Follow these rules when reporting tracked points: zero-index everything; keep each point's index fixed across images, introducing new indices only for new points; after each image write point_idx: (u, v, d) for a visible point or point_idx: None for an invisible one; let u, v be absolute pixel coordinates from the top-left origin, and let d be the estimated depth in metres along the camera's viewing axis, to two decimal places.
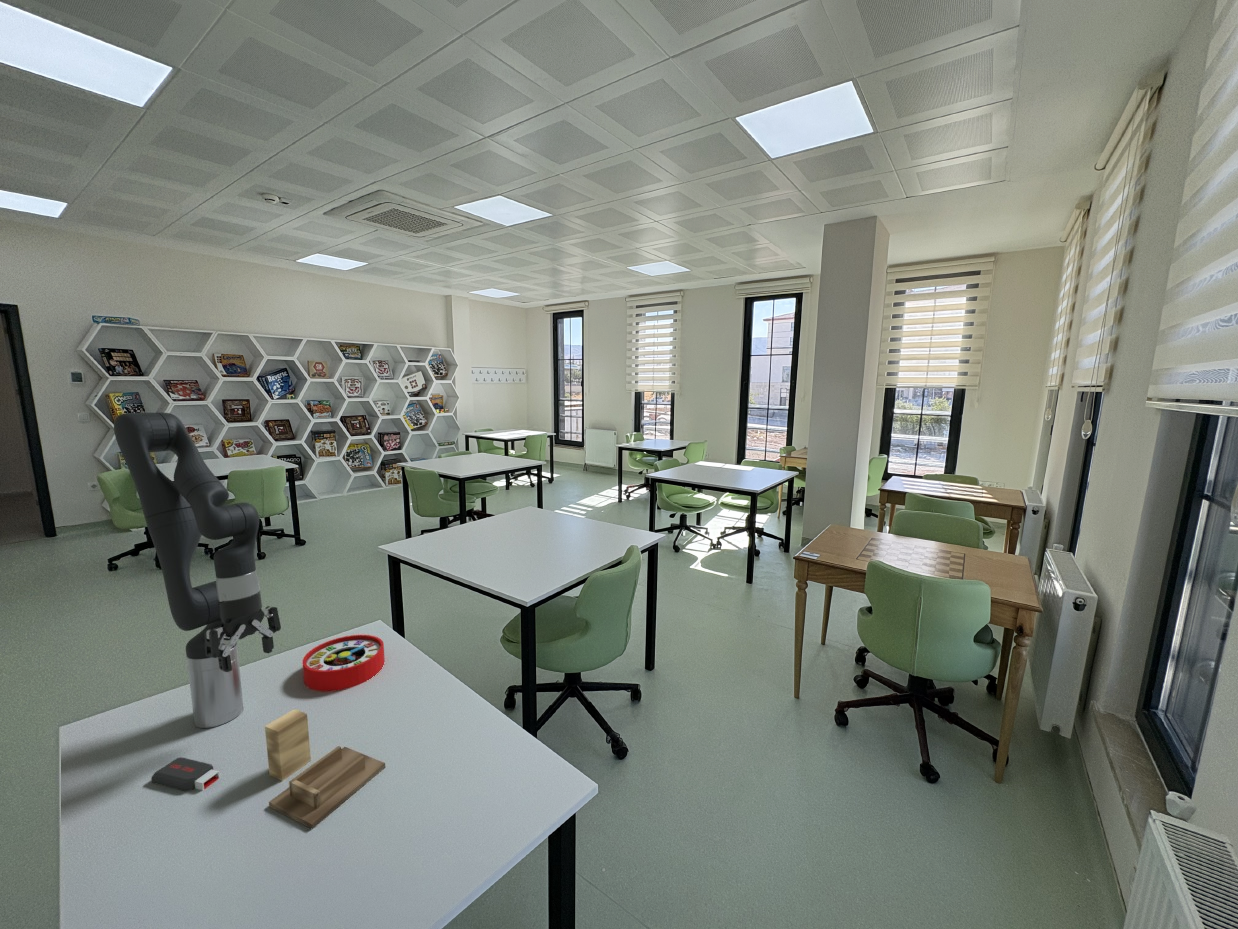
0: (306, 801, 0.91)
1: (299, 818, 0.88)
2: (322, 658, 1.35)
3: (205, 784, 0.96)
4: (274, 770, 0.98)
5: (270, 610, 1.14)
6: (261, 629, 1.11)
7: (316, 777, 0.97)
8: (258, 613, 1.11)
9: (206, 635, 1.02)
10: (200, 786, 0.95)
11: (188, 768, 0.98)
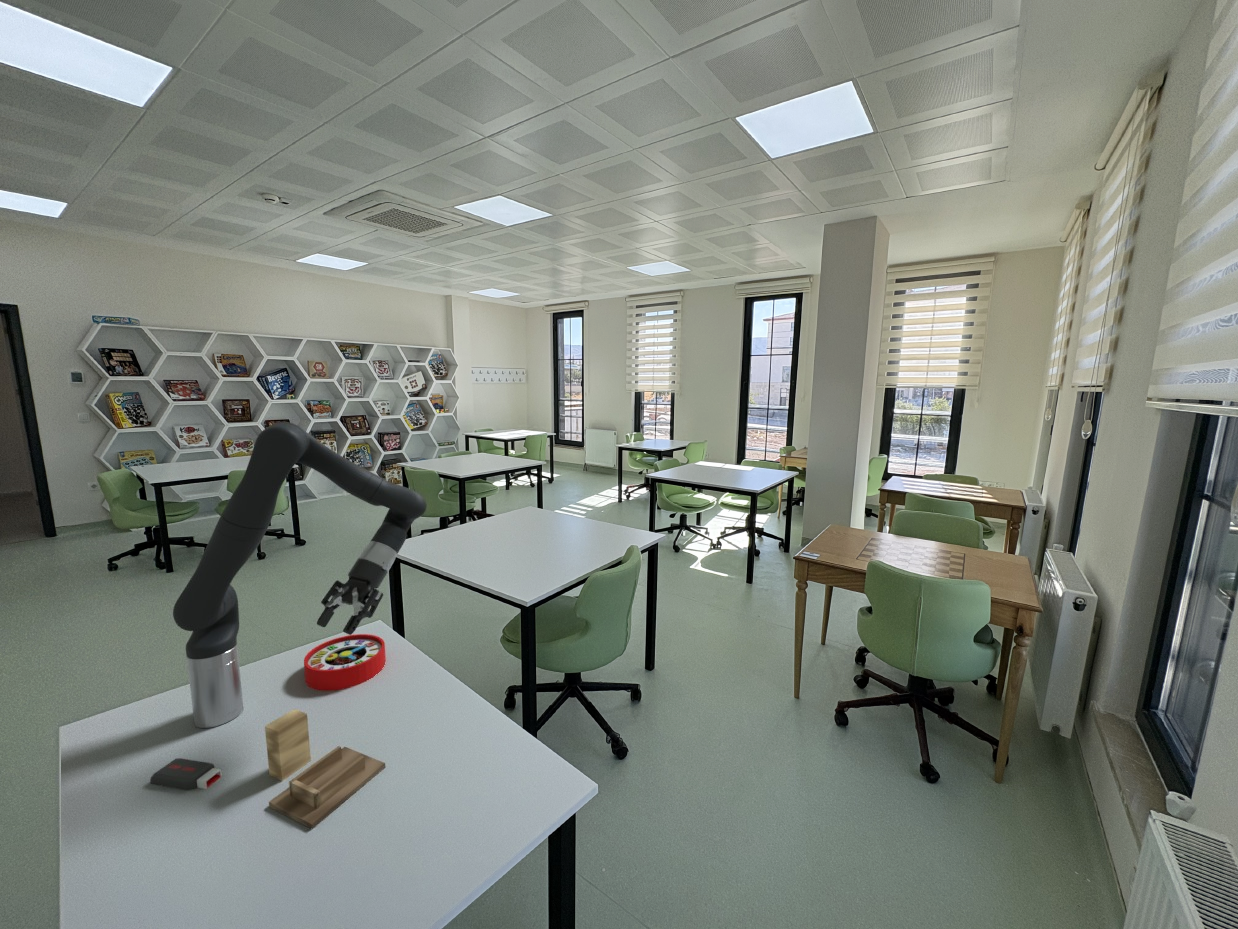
0: (306, 801, 0.91)
1: (299, 818, 0.88)
2: (323, 657, 1.35)
3: (207, 782, 0.97)
4: (274, 770, 0.98)
5: None
6: None
7: (316, 777, 0.97)
8: None
9: (377, 594, 1.10)
10: (203, 784, 0.96)
11: (188, 768, 0.98)
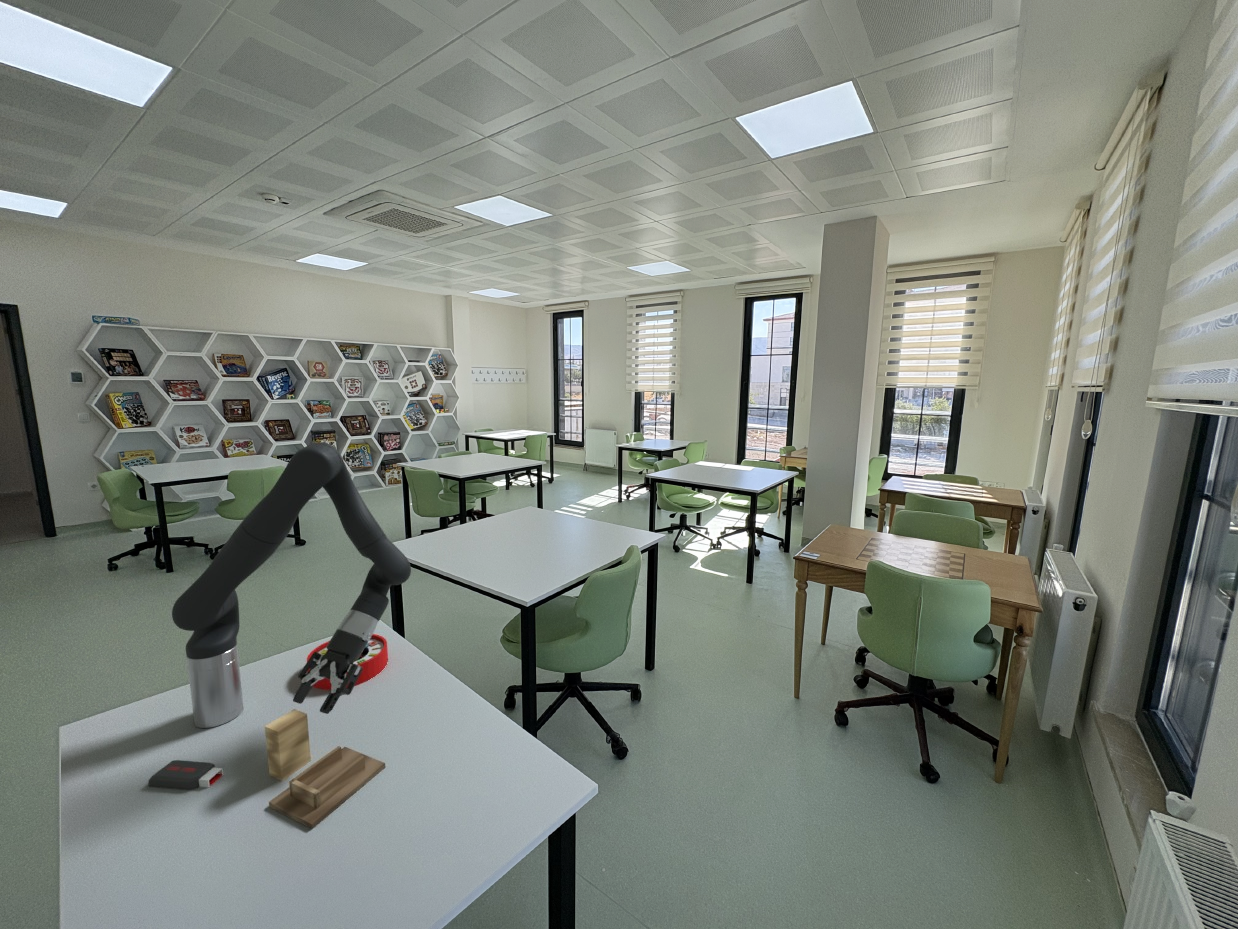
0: (306, 801, 0.91)
1: (299, 818, 0.88)
2: None
3: (209, 781, 0.97)
4: (274, 770, 0.98)
5: None
6: None
7: (316, 777, 0.97)
8: None
9: (356, 670, 1.07)
10: (205, 783, 0.96)
11: (188, 769, 0.98)
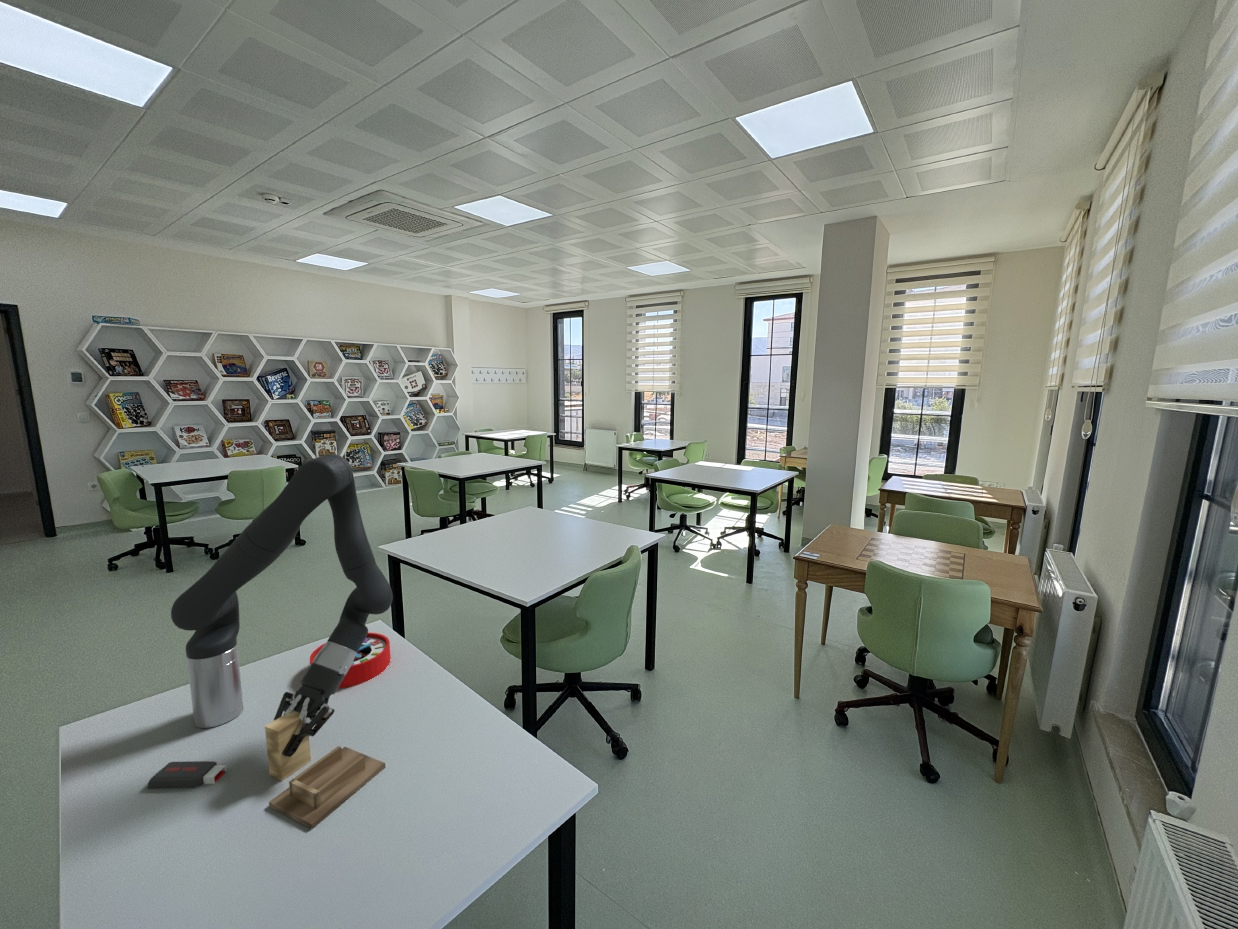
0: (306, 801, 0.91)
1: (299, 818, 0.88)
2: None
3: (214, 778, 0.98)
4: (274, 770, 0.98)
5: None
6: None
7: (316, 777, 0.97)
8: None
9: (325, 713, 1.01)
10: (210, 780, 0.97)
11: (189, 768, 0.98)
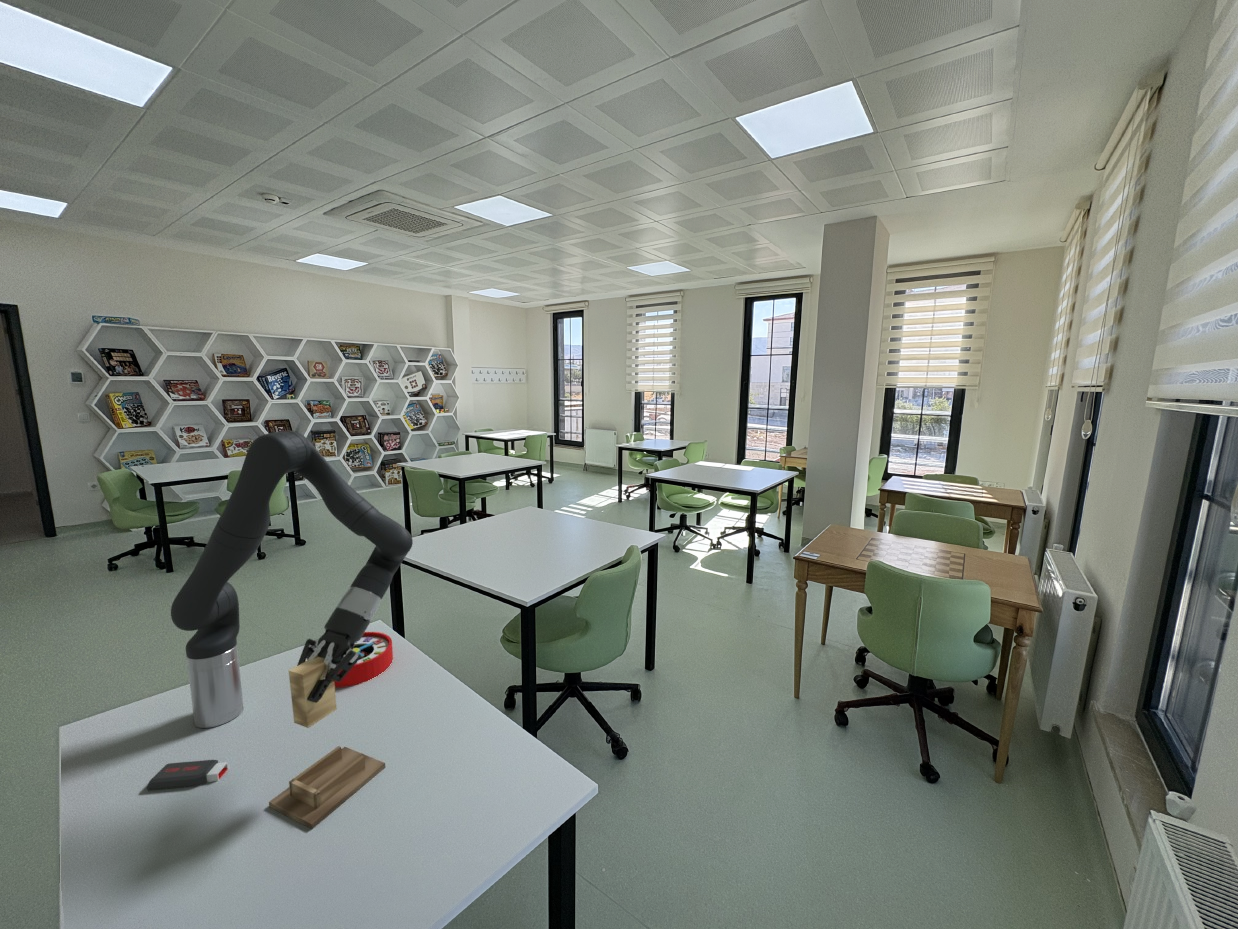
0: (306, 801, 0.91)
1: (299, 818, 0.88)
2: None
3: None
4: (299, 717, 0.93)
5: None
6: None
7: (316, 777, 0.97)
8: None
9: (352, 658, 0.95)
10: (214, 777, 0.97)
11: (190, 768, 0.98)
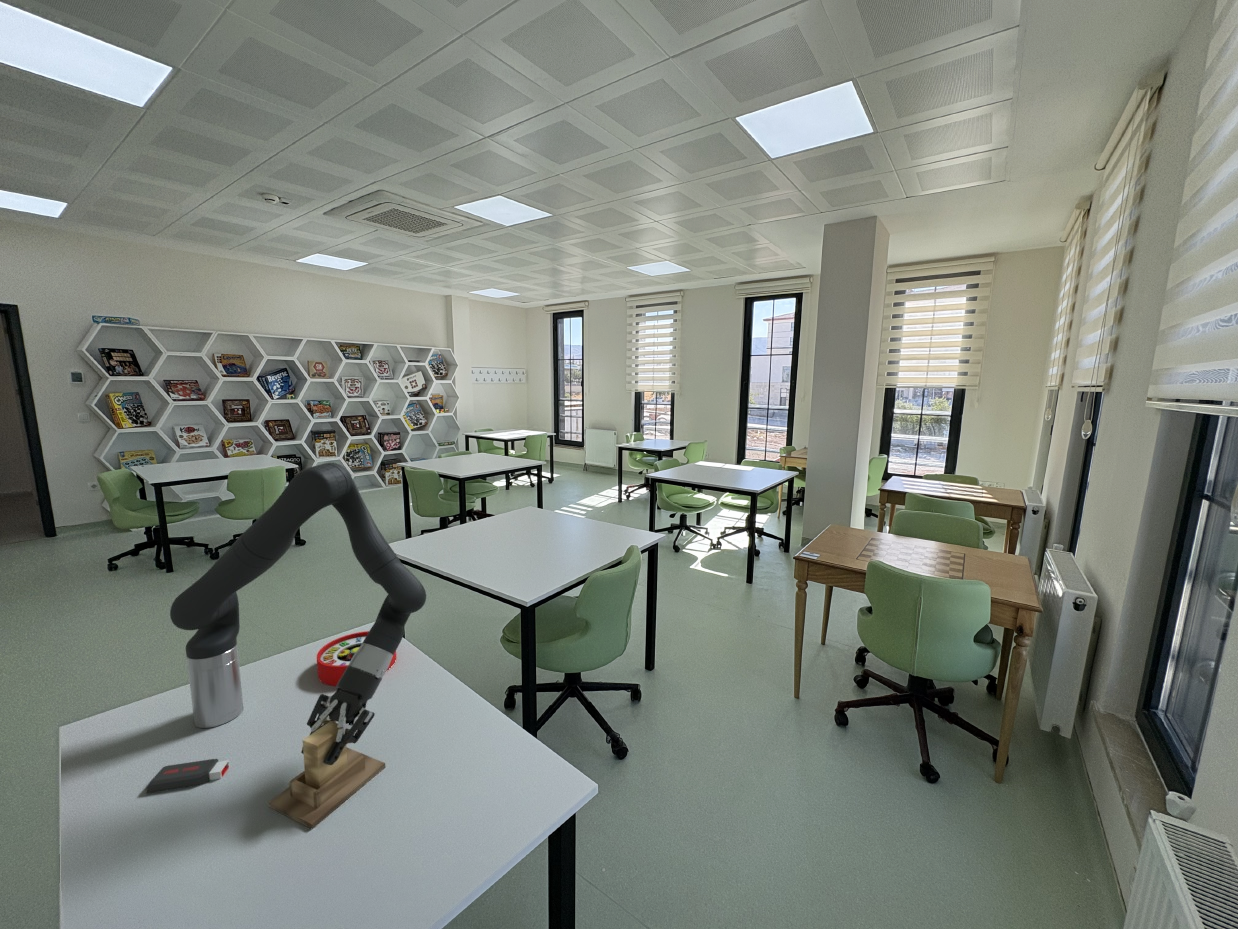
0: (306, 801, 0.91)
1: (299, 818, 0.88)
2: (335, 653, 1.38)
3: None
4: (312, 786, 0.93)
5: None
6: None
7: None
8: None
9: (366, 717, 0.96)
10: (217, 775, 0.98)
11: (190, 768, 0.98)
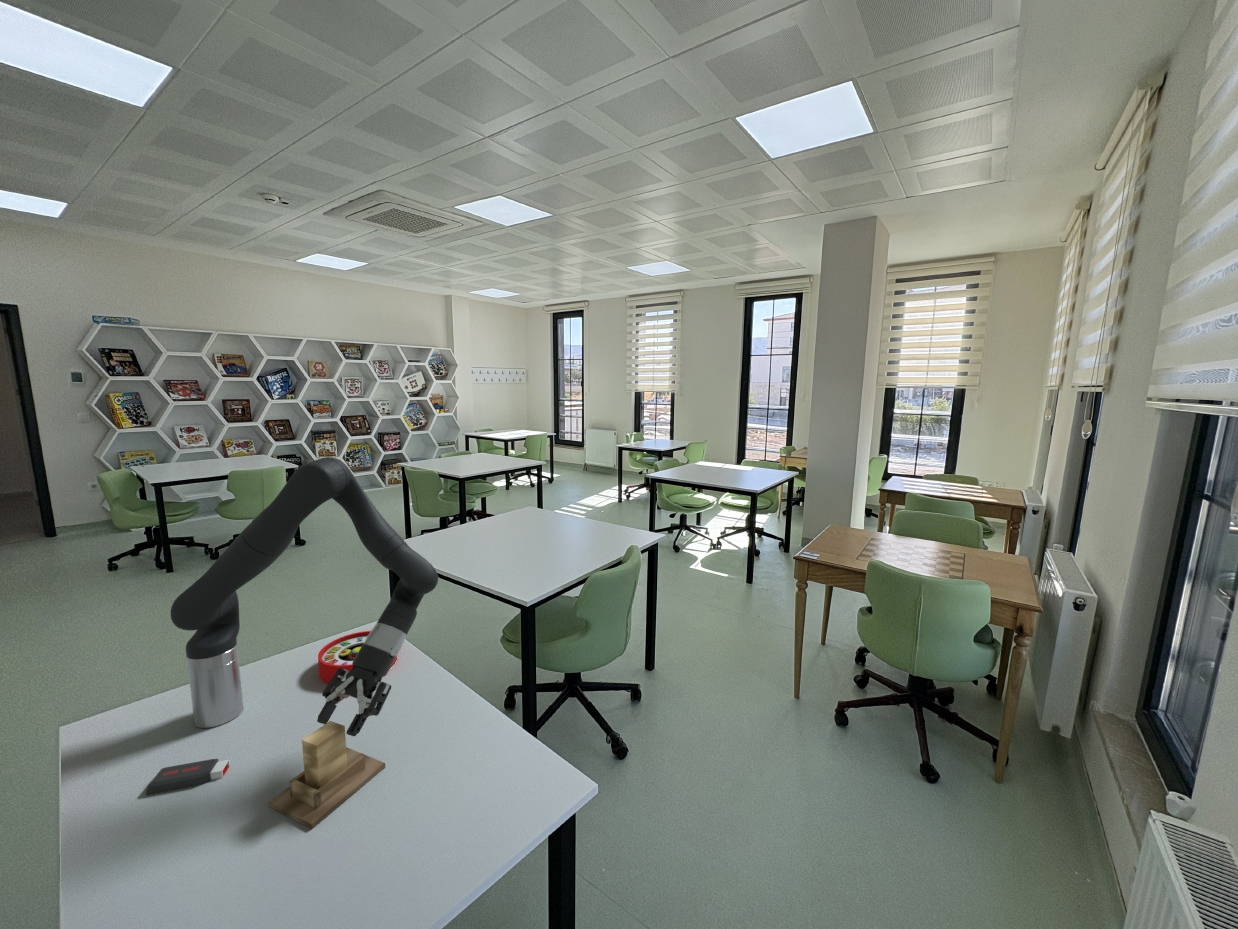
0: (306, 801, 0.91)
1: (299, 818, 0.88)
2: (337, 653, 1.38)
3: None
4: (312, 786, 0.93)
5: None
6: None
7: None
8: None
9: (384, 688, 0.99)
10: (219, 775, 0.98)
11: (190, 768, 0.98)
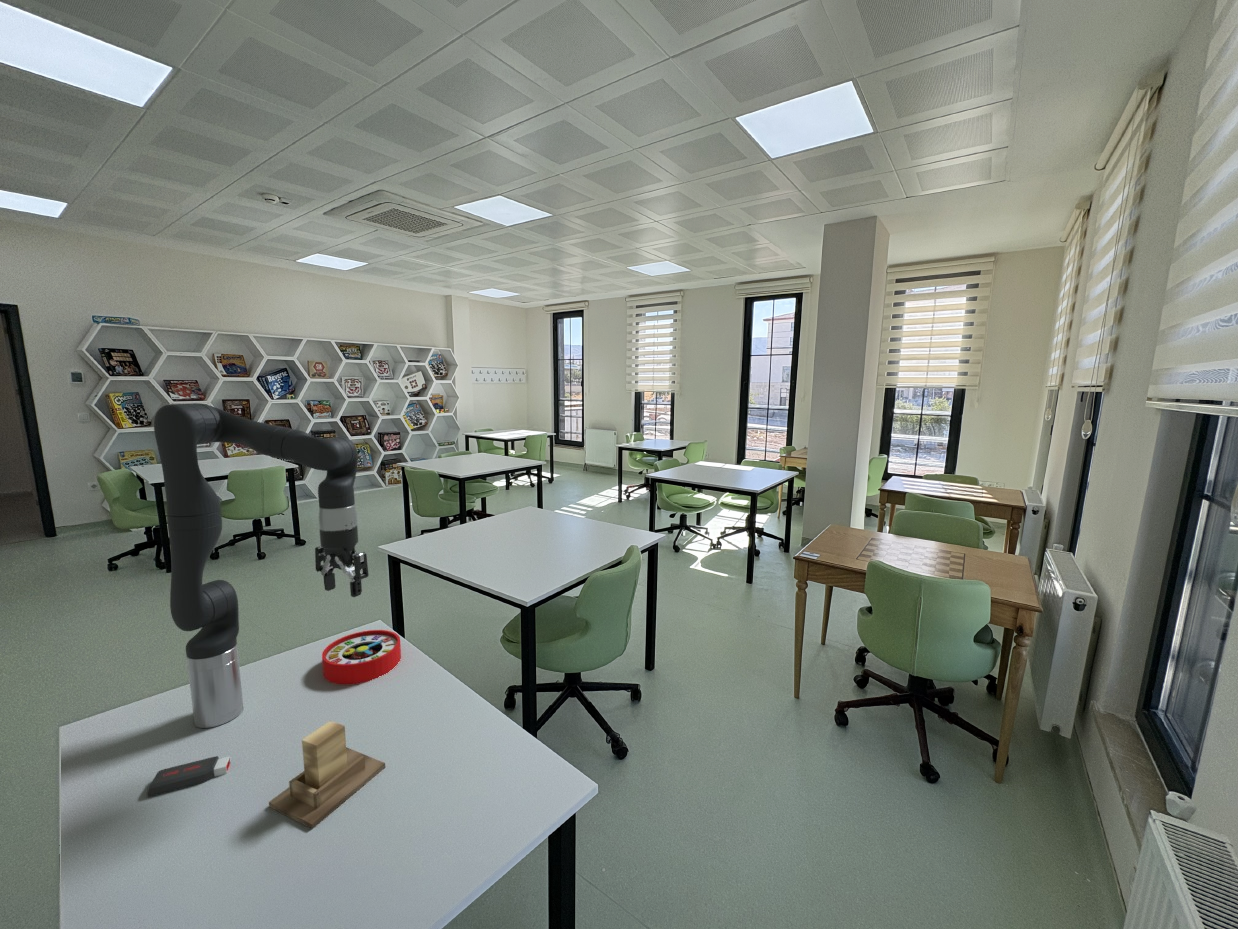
0: (306, 801, 0.91)
1: (299, 818, 0.88)
2: (341, 652, 1.38)
3: None
4: (312, 786, 0.93)
5: None
6: None
7: None
8: None
9: (360, 558, 1.08)
10: (222, 770, 0.99)
11: (190, 768, 0.98)
